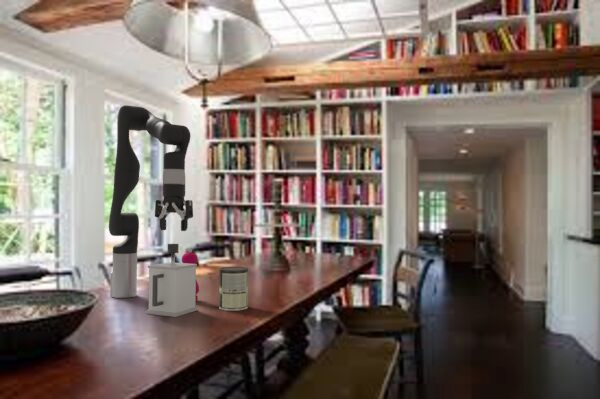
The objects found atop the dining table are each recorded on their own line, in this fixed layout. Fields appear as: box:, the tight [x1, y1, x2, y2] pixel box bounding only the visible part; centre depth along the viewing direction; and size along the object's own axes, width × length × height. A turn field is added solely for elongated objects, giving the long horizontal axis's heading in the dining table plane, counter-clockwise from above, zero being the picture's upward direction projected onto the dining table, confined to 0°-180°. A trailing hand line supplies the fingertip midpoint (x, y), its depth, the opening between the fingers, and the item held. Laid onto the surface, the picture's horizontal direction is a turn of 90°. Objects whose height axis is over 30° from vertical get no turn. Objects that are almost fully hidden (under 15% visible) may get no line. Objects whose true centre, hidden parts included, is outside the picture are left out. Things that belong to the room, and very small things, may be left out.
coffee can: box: [218, 266, 249, 312], centre depth 182 cm, size 10×10×14 cm
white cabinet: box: [146, 261, 198, 318], centre depth 173 cm, size 12×16×16 cm
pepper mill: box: [181, 248, 200, 303], centre depth 195 cm, size 7×7×20 cm
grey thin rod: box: [167, 243, 180, 265], centre depth 175 cm, size 9×9×22 cm
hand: (173, 230), depth 175 cm, fingers open, 8 cm apart
